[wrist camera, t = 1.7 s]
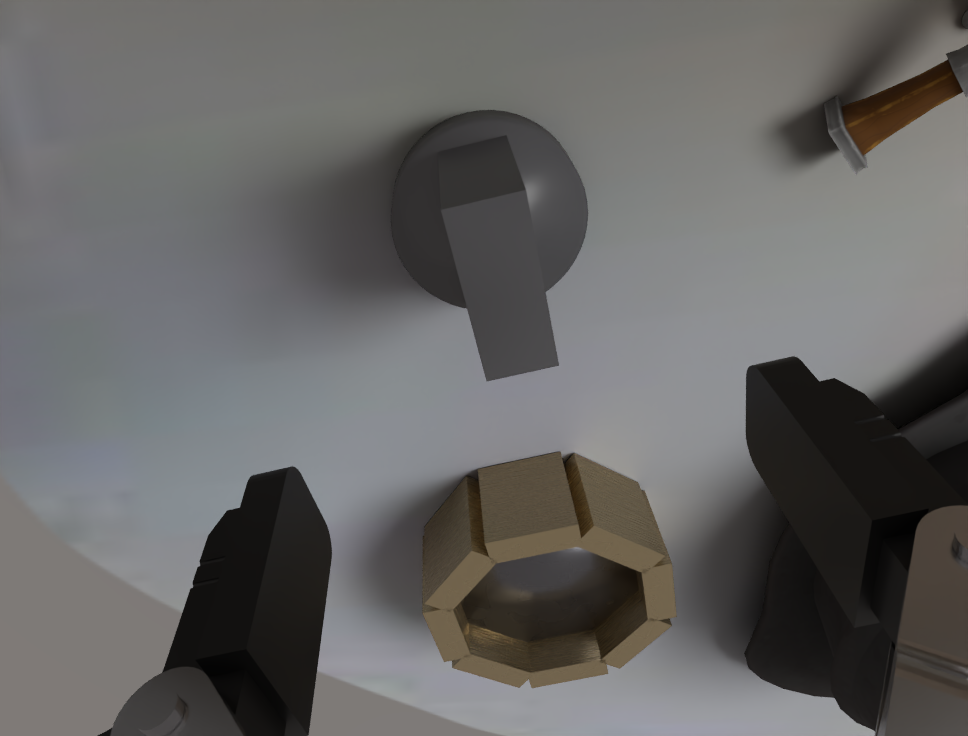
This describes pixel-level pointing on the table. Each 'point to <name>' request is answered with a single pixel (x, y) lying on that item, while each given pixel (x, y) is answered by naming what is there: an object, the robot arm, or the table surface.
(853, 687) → the casserole
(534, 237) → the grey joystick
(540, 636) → the octagonal wooden ring
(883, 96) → the wooden post with brackets
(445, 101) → the table surface
